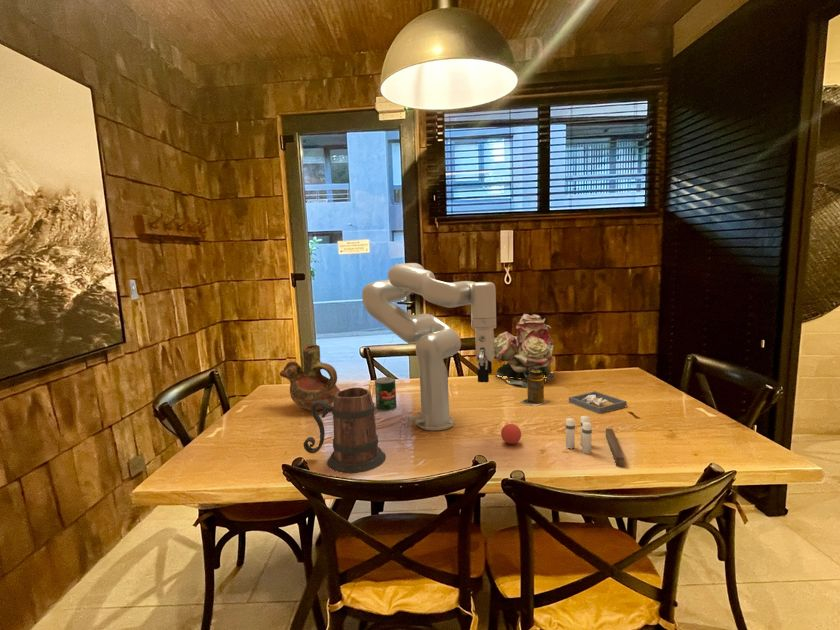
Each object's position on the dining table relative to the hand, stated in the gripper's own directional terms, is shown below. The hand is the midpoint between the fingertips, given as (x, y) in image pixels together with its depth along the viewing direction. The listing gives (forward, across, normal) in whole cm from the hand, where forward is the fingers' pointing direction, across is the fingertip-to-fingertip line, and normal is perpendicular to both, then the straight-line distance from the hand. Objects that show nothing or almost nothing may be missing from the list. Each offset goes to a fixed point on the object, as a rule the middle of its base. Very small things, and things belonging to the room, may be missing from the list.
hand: (485, 377), depth 139 cm
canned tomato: (+19, +22, +41) cm, 50 cm away
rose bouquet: (+20, +67, -11) cm, 71 cm away
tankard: (+20, -22, +38) cm, 48 cm away
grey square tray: (+19, +36, -37) cm, 55 cm away
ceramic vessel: (+19, +17, +69) cm, 74 cm away
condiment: (+20, +36, -14) cm, 44 cm away
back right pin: (+19, -6, -29) cm, 36 cm away
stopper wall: (+19, -4, -37) cm, 42 cm away
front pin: (+19, -4, -25) cm, 32 cm away
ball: (+16, -3, -8) cm, 18 cm away
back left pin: (+19, -1, -29) cm, 35 cm away
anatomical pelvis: (+20, +36, -36) cm, 54 cm away
